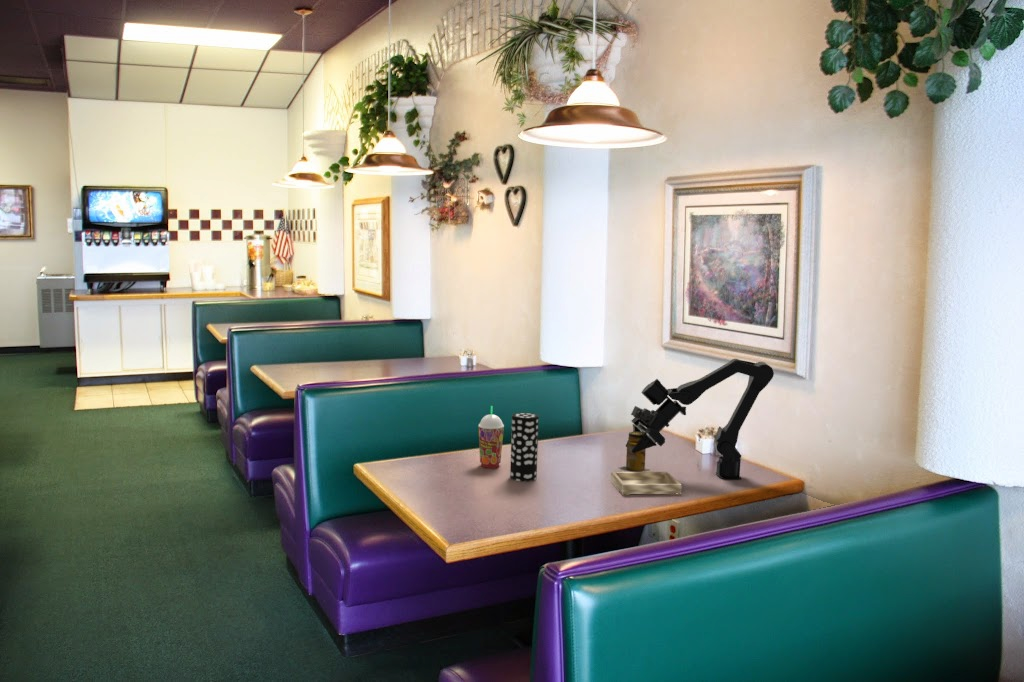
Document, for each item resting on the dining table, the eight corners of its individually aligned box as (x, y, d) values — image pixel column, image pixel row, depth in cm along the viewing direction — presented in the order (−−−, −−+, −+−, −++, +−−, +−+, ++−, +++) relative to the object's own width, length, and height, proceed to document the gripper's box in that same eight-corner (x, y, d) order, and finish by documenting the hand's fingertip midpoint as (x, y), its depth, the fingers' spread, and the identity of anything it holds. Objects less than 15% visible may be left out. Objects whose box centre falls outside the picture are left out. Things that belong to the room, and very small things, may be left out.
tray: (666, 480, 274) (667, 471, 273) (680, 494, 260) (681, 484, 260) (610, 481, 271) (611, 472, 271) (622, 495, 258) (622, 485, 257)
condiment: (650, 470, 280) (652, 434, 278) (630, 474, 275) (632, 437, 273) (635, 465, 286) (636, 429, 284) (615, 468, 281) (616, 432, 279)
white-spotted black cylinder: (540, 476, 275) (542, 414, 272) (530, 483, 267) (532, 419, 265) (516, 472, 278) (518, 411, 276) (505, 479, 271) (507, 416, 268)
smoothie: (473, 467, 283) (474, 407, 280) (483, 461, 291) (485, 402, 288) (496, 470, 280) (498, 409, 277) (506, 464, 288) (508, 405, 285)
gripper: (638, 392, 287) (605, 426, 287) (656, 404, 269) (621, 439, 268) (660, 415, 289) (627, 448, 289) (680, 428, 271) (644, 463, 271)
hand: (629, 449), depth 279 cm, fingers closed on condiment, 6 cm apart
